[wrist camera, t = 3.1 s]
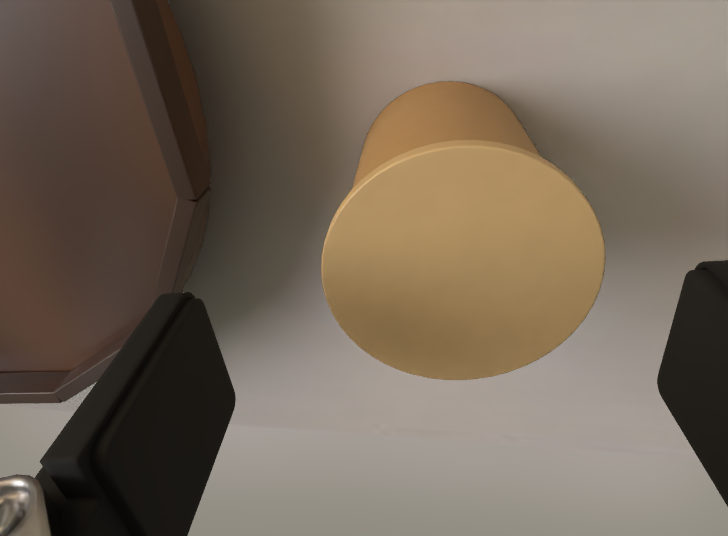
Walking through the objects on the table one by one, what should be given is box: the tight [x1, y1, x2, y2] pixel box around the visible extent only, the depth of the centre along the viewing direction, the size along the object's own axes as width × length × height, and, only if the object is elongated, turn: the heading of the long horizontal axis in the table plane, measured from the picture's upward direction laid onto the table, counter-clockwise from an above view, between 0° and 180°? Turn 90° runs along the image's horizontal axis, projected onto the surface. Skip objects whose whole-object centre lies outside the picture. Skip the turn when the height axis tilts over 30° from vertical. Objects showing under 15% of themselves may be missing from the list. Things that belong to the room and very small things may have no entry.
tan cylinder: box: [321, 81, 606, 380], centre depth 14 cm, size 6×6×7 cm
